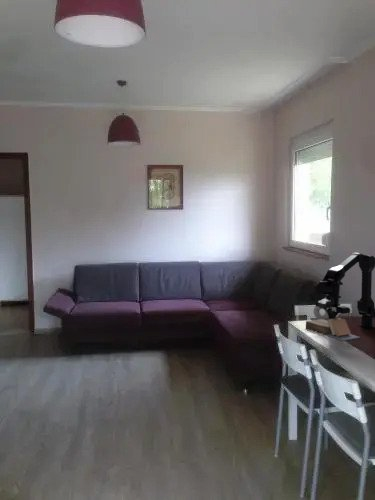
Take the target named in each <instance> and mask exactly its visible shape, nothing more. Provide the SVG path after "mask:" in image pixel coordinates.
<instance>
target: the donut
mask: <svg viewBox="0 0 375 500" xmlns="http://www.w3.org/2000/svg"><path fill="white" fill-rule="evenodd" d="M321 310H324V309H323V308H319V307H318V306H316V305H315V306H314V307H313V310H312V311H313V312H312V313H313V315H314V317H315V318H316V320H318V319H324V320H329V316H328V313H327V312H326V311H325V310H324V314H321V313H320V311H321Z"/></svg>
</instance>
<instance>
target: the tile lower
mask: <svg viewBox="0 0 375 500" xmlns="http://www.w3.org/2000/svg"><path fill="white" fill-rule="evenodd" d="M341 319H342V317H336V318H334V319H329V318H328V319H326V320H327V321H328V324H329V327H330V329H331V332H332V334H333V335H336V333H335V331H334V329H333V326H332V324H331V322H332V321H333V320H341Z"/></svg>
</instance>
